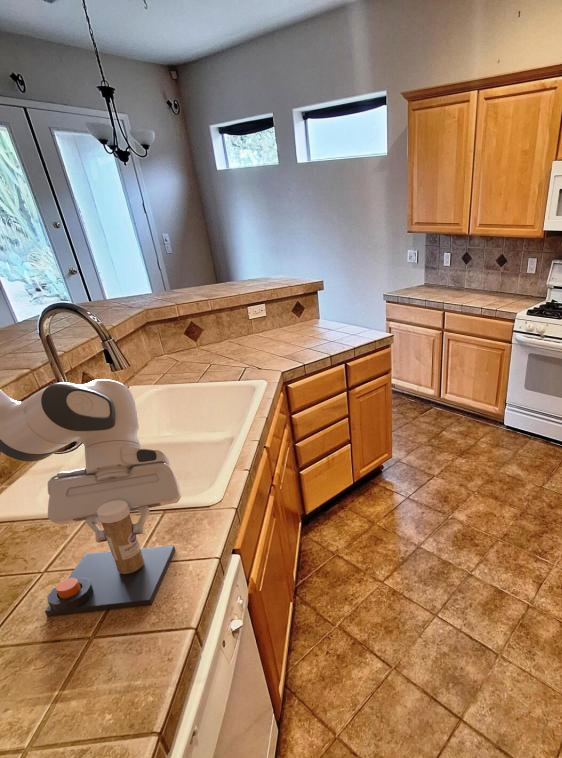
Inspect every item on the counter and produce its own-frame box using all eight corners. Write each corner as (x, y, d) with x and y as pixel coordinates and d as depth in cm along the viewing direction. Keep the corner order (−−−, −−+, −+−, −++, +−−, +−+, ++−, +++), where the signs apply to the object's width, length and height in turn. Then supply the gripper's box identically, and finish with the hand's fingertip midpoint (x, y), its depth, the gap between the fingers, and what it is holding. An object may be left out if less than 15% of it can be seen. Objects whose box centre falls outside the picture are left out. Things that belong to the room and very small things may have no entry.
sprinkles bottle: (141, 573, 78) (122, 512, 72) (113, 576, 77) (91, 516, 71) (148, 556, 82) (130, 497, 76) (121, 559, 81) (101, 500, 75)
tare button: (55, 600, 71) (51, 592, 70) (64, 586, 73) (61, 578, 72) (75, 598, 71) (72, 590, 70) (84, 584, 74) (81, 576, 73)
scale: (45, 619, 70) (39, 606, 69) (87, 559, 83) (82, 546, 82) (150, 607, 73) (146, 594, 71) (175, 550, 85) (172, 538, 84)
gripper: (38, 469, 73) (41, 550, 69) (171, 449, 80) (180, 521, 76) (55, 479, 79) (58, 554, 75) (177, 459, 86) (186, 527, 82)
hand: (121, 537), depth 76 cm, fingers closed on sprinkles bottle, 4 cm apart
